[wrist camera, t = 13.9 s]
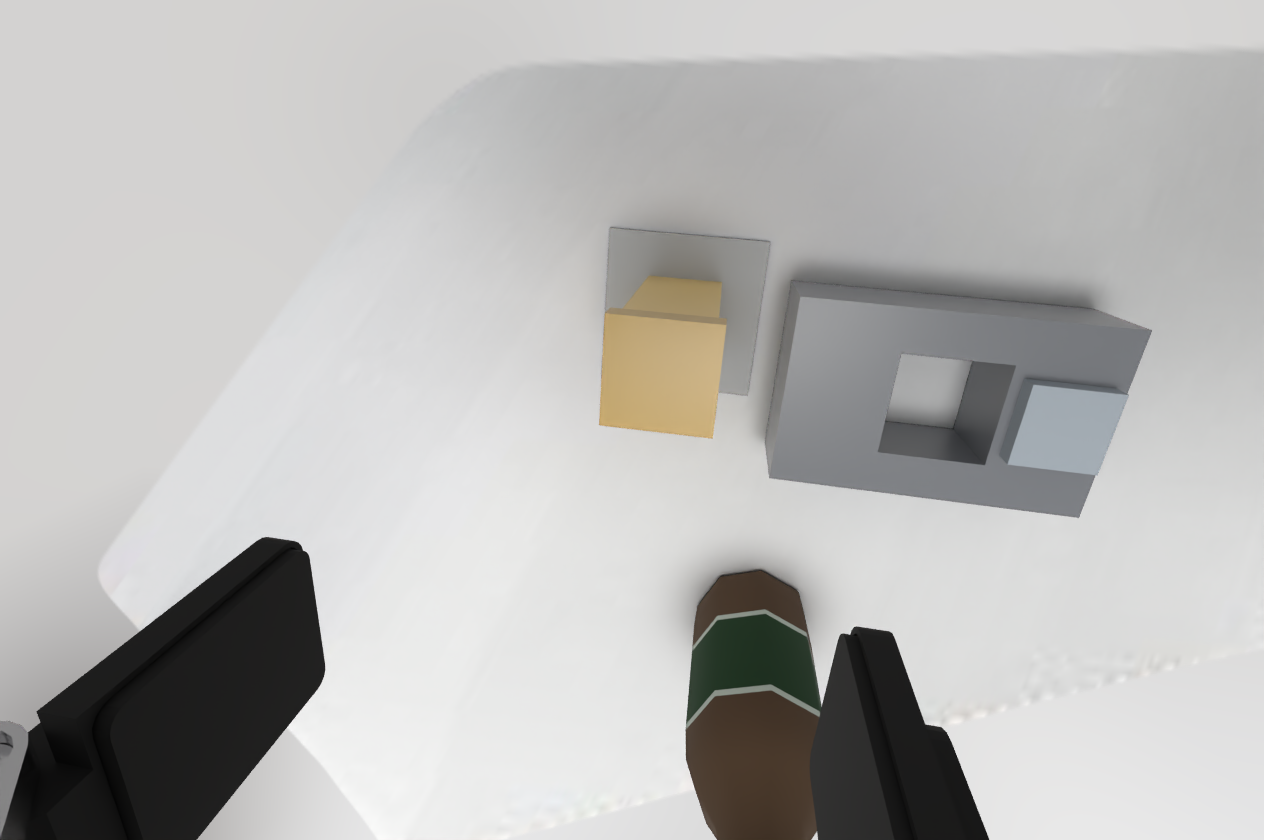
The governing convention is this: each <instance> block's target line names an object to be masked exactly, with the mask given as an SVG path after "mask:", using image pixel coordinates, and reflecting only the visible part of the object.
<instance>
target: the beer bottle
mask: <svg viewBox="0 0 1264 840" xmlns="http://www.w3.org/2000/svg"><path fill="white" fill-rule="evenodd" d="M821 708H822V707H821V701H820V695H819V689H818V683H817V677H816V671H815V666H814V660H813V654H812V648H811V643H810V638H809V634H808V630H807V625H806V621H805V616H804V612H803V608H802V604H801V600H800V596H799V592H797V591H796V590H795V589H793V588H791V587H789V586H787V585H786V584H784V583H782V582H780V581H779V580H777V579H775V578H773V577H772V576H770V575H768V574H766V573H765V572H763V571H755V572H748V573H741V574H735V575H728V576H721V577H720V578H719V579H718V580H717V582H716V583H715V584H714V586H713V587H712V588H711V590H710V591H709V592H708V593H707V595H706V596H705V597H704V599H703V600H702V601H701V602H700V604H699V605H698V606H697V612H696V617H695V623H694V635H693V648H692V660H691V672H690V684H689V696H688V708H687V720H686V761H687V764H688V768H689V771H690V774H691V777H692V781H693V784H694V787H695V791H696V794H697V797H698V799H699V802H700V806H701V808H702V812H703V814H704V818H705V820H706V824H707V825H708V827H709V828H710V830H711V831H712V833H713V834H714V836H715V837H716V839H717V840H811V839H812V838H813V836H814V834H815V833H816V832H817V826H816V818H815V810H814V803H813V795H812V787H811V780H810V754H811V749H812V745H813V741H814V737H815V733H816V729H817V725H818V720H819V716H820V712H821Z"/></svg>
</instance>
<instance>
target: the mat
mask: <svg viewBox="0 0 1264 840" xmlns="http://www.w3.org/2000/svg"><path fill="white" fill-rule="evenodd" d="M769 248H770V242H768V241H756V240H745V239H733V238H722V237H711V236H699V235H688V234H676V233H665V232H654V231H642V230H631V229H619V228H610V230H609V248H608V266H607V284H606V302H605V312H606V311H607V310H608V309H609V308H610V307H612V308H623V307H624V306H625V305H626V303H627V302H628V301H629V300H630V298H631V297H632V296H633V295H634V293H635V292H636V291H637V290H638V289H639V287H640V286H641V285H642V284H643V282H644V281H645V280H646V279H647V277H648V276H659V277H670V278H681V279H693V280H704V281H715V282H722V289H721V301H720V313H719V318H726V319H727V326H726V334H725V342H724V350H723V358H722V366H721V374H720V382H719V390H718V392H719V393H727V394H736V395H745V396H748V389H749V382H750V375H751V369H752V362H753V355H754V348H755V342H756V335H757V328H758V322H759V315H760V308H761V301H762V295H763V288H764V281H765V275H766V268H767V261H768V254H769ZM602 358H603V357H602ZM601 378H602V375H601Z"/></svg>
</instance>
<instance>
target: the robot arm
mask: <svg viewBox="0 0 1264 840" xmlns="http://www.w3.org/2000/svg"><path fill="white" fill-rule="evenodd" d="M324 674H325V661H324V654H323V647H322V640H321V633H320V627H319V620H318V613H317V606H316V599H315V592H314V585H313V578H312V572H311V565H310V558H309V555H308V554H307V552H305V551H303V549H302V546H301V545H300V544H299V543H298V542H295V541H290V540H283V539H277V538H270V537H265V538H261V539H259V540H258V541H256V542H255V543H254V544H252V545H251V546H250V547H249V548H247V549H246V550H245V551H243V552H242V553H241V554H239V555H238V556H237V557H236V558H234V559H233V560H232V561H230V562H229V563H228V564H227V565H225V566H224V567H223V568H221V569H220V570H219V571H217V572H216V573H215V574H214V575H212V576H211V577H210V578H208V579H207V580H206V581H205V582H203V583H202V584H201V585H199V586H198V587H197V588H196V589H194V590H193V591H192V592H190V593H189V594H188V595H186V596H185V597H184V598H183V599H181V600H180V601H179V602H177V603H176V604H175V605H174V606H172V607H171V608H170V609H168V610H167V611H166V612H164V613H163V614H162V615H161V616H159V617H158V618H157V619H155V620H154V621H153V622H152V623H150V624H149V625H148V626H146V627H145V628H144V629H143V630H141V631H140V632H139V633H137V634H136V635H135V636H133V637H132V638H131V639H130V640H128V641H127V642H126V643H124V644H123V645H122V646H121V647H119V648H118V649H117V650H115V651H114V652H113V653H111V654H110V655H109V656H108V657H106V658H105V659H104V660H103V661H101V662H100V663H99V664H97V665H96V666H95V667H94V668H92V669H91V670H90V671H88V672H87V673H86V674H84V675H83V676H82V677H80V678H79V679H78V680H77V681H75V682H74V683H73V684H71V685H70V686H69V687H68V688H66V689H65V690H64V691H62V692H61V693H60V694H58V695H57V696H56V697H55V698H53V699H52V700H51V701H49V702H48V703H47V704H46V705H44V706H43V707H42V708H40V709H39V710H38V711H37V714H38V717H39V719H40V722H41V723H40V724H38V725H37V726H36V727H35V728H33V729H32V730H31V731H29V732H27V731H26V730H25V729H24V727H23V726H22V725H19V724H16V723H13V722H10V721H0V840H196V839H198V837H199V836H200V835H201V834H202V832H203V831H204V830H205V829H206V827H207V826H208V825H209V823H210V822H211V821H212V820H213V819H214V817H215V816H216V815H217V814H218V812H219V811H220V810H221V809H222V807H223V806H224V805H225V804H226V803H227V801H228V800H229V799H230V797H231V796H232V795H233V794H234V792H235V791H236V790H237V789H238V787H239V786H240V785H241V784H242V782H243V781H244V780H245V779H246V778H247V776H248V775H249V774H250V773H251V771H252V770H253V769H254V768H255V766H256V765H257V764H258V763H259V761H260V760H261V759H262V758H263V756H264V755H265V754H266V752H267V751H268V750H269V749H270V748H271V746H272V745H273V744H274V743H275V741H276V740H277V739H278V738H279V736H280V735H281V734H282V733H283V731H284V730H285V729H286V728H287V727H288V725H289V724H290V723H291V722H292V720H293V719H294V718H295V717H296V715H297V714H298V713H299V712H300V710H301V709H302V708H303V707H304V705H305V704H306V703H307V702H308V700H309V699H310V698H311V697H312V695H313V694H314V693H315V692H316V690H317V689H318V688H319V686H320V684H321V682H322V680H323V677H324ZM810 780H811V787H812V795H813V803H814V810H815V818H816V826H817V833H818V840H989V838H988V835H987V833H986V830H985V827H984V825H983V822H982V820H981V817H980V814H979V812H978V810H977V807H976V804H975V802H974V799H973V796H972V794H971V791H970V789H969V786H968V784H967V781H966V778H965V776H964V773H963V771H962V768H961V766H960V763H959V761H958V758H957V755H956V753H955V750H954V747H953V745H952V742H951V741H950V738H949V736H948V734H947V732H945V730H944V729H943V728H942V727H937V726H931V725H925V723H924V720H923V717H922V714H921V712H920V709H919V706H918V703H917V700H916V697H915V695H914V692H913V689H912V686H911V683H910V680H909V678H908V675H907V672H906V669H905V666H904V663H903V661H902V658H901V655H900V652H899V649H898V646H897V644H896V641H895V638H894V636H893V634H892V633H891V632H889V631H882V630H876V629H869V628H863V627H854V628H853V630H852V632H851V635H848V634H841V635H840V636H839V639H838V643H837V647H836V651H835V655H834V659H833V663H832V667H831V671H830V676H829V680H828V684H827V688H826V692H825V696H824V700H823V704H822V708H821V712H820V716H819V720H818V725H817V729H816V733H815V737H814V741H813V745H812V749H811V754H810Z"/></svg>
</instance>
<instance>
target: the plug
mask: <svg viewBox="0 0 1264 840" xmlns="http://www.w3.org/2000/svg"><path fill="white" fill-rule="evenodd" d="M721 289H722V282H715V281H704V280H693V279H681V278H670V277H659V276H648V277H647V279H646V280H645V281H644V282H643V284H642V285H641V286H640V287H639V289H638V290H637V291H636V292H635V293H634V295H633V296H632V297H631V298H630V300H629V301H628V302H627V303H626V305H625V306H624V307H623V308H612V307H610V308H609V309H608V310H607V311H606V312H605V318H604V338H603V358H602V378H601V399H600V419H599V425H602V426H610V427H619V428H627V429H636V430H644V431H653V432H661V433H670V434H678V435H687V436H695V437H704V438H712V439H713V431H714V423H715V415H716V407H717V398H718V390H719V382H720V374H721V366H722V358H723V350H724V342H725V334H726V326H727V319H726V318H719V313H720V301H721Z"/></svg>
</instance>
